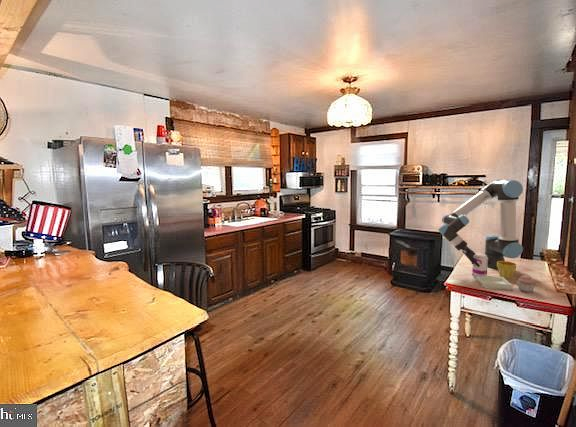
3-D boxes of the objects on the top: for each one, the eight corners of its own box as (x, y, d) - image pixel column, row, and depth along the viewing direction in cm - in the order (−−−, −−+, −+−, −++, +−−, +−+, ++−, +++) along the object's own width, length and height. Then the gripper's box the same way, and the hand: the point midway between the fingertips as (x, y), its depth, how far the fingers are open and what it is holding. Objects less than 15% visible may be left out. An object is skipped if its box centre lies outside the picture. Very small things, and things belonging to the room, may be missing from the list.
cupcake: (526, 287, 178) (527, 271, 177) (540, 293, 169) (541, 276, 167) (511, 287, 178) (512, 271, 176) (524, 293, 168) (525, 277, 167)
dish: (476, 279, 192) (476, 275, 192) (502, 281, 188) (503, 277, 187) (483, 287, 179) (483, 282, 178) (511, 289, 174) (512, 285, 174)
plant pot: (511, 281, 188) (512, 266, 187) (493, 276, 197) (494, 262, 196) (518, 277, 194) (519, 263, 193) (500, 273, 203) (501, 260, 201)
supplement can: (480, 279, 193) (481, 257, 191) (469, 275, 201) (470, 254, 199) (489, 277, 195) (491, 256, 193) (478, 274, 203) (479, 253, 201)
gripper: (455, 242, 214) (478, 265, 208) (452, 250, 194) (478, 275, 187) (464, 236, 211) (488, 259, 204) (462, 243, 190) (488, 269, 184)
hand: (483, 267), depth 196 cm, fingers open, 13 cm apart
